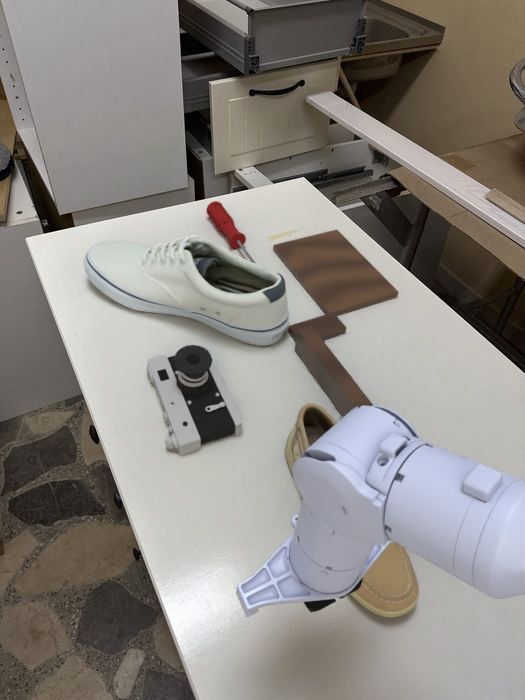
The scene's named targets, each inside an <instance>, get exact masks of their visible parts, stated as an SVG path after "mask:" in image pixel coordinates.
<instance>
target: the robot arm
mask: <svg viewBox="0 0 525 700" xmlns="http://www.w3.org/2000/svg"><path fill="white" fill-rule="evenodd" d="M336 422H337V423H336V424H335V425H334V426H333V427H332V428H331V429H329V430H328V431H327V432H326V433H325V434H324V435H323V436H321V437H320V438H319V439H318V440H317V441H316V442H315V443H314V444H312V445H311V446H310V447H309V448H308V449H307V450H306V451H304V452H303V454H302V455H301V458H299V459H298V460H296V461H295V463H294V465H293V475H292V477H293V481H294V484H295V486H296V489H297V490H298V492H299V494H300V496H301V497H302V499H301V503H300V506H299V511H298V513H296V514H294V515H293V516H292V517H291V520H290V524H291V527H292V530H293V532H292V533H291V534H290V535H289V537H287V538H286V539H285V540H284V541H283V543H282V544H281V545H280V546H279V547H278V548H277V549H276V550H275V551H273V553H272V554H271V555H270V556H269V557H268V558H267V559H266V560H265V561H264V563H262V564H261V566H259V568H258V569H257V570H256V571H255V572H254V573H252V574H251V575H250V576H249V577H247V578H246V579H244V580H242V581H240V582H239V583H237V584H236V592H235V594H236V597H237V599H238V602H239V604H240V605H241V608H242V611H243V613H244V615H245V617H246V618H250V617H251V616H253V615H255V614H257V613H258V612H259V610H260V608H263V607H269V606H277V605H286V604H296V603H303V604H304V606H305V607H306V609H307V610H308V611H309V612H310V613H316V612H319V611H321V610H323V609H325V608H327V607H329V606H330V605H333V604H334V603H336V602H337V600H336V599H340V600H342V599H343V598H345V597H347V596H349V595H350V594H351V593H353V592H355V591H357V590H358V589H359V588H360V586H361V584H362V580H363V578H362V577H363V576H364V575H365V574H366V572H367V571H368V570H369V569H370V567H371V566H372V565H373V564H374V562H375V561H376V560H377V559H378V557H379V556H380V555H381V553H382V552H383V551H384V550H385V548H386V547H387V546H388V545H389V544H390V543H393V542H396V543H397V544H399V545H401V546H403V547H404V548H405V550H408V551H409V552H411V553H413V554H415V555H416V556H419V557H420V558H422V559H423V560H425V561H427V562H428V563H431V564H432V565H434V566H435V567H437V568H439V569H440V570H442V571H444V572H445V573H447V574H450V575H451V576H453V577H454V578H456V579H458V580H459V581H461V582H463V583H465V584H466V585H468V586H470V587H472V588H473V589H474V590H475V589H476V590H477V591H479V592H481V593H482V594H484V595H485V596H487V597H489V598H491V599H494V600H504V599H510V598H511V599H512V598H515V597H519V596H524V595H525V480H523V479H520V478H518V477H516V476H513V475H510V474H508V473H506V472H503V471H501V470H498V469H496V468H493V467H491V466H488V465H486V464H484V463H481V462H478V461H475V460H474V459H472V458H469V457H465V456H464V455H461V454H458V453H456V452H453V451H452V450H448V449H446V448H443V447H441V446H439V445H436V444H435V443H431V442H430V441H429V442H428V441H426V440H423V439H421V438H420V435H419V433H418V432H417V430H416V429H415V428H414V427H413V425H412V424H411V423H410V422H409V421H408V420H407V419H406V418H405V417H403V416H402V415H401V414H400V413H398V412H397V411H395V410H393V409H391V408H389V407H387V406H382V405H377V404H376V405H374V406H361V407H360V408H358V407H355V408H354V409H352V410H351V411H350V412H349V413H348V414H346V415H345V416H344V417H342V418H340V419H339V420H338V421H336Z"/></svg>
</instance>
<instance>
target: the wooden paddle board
mask: <svg viewBox="0 0 525 700" xmlns="http://www.w3.org/2000/svg"><path fill="white" fill-rule="evenodd" d="M272 251H273V252H274V254H275V255H276V256H277V257H278V258H279V259H280V261H281V262H282V263H283V264H284V266H285V267H286V268H287V269H288V270H289V271H290V273H291V274H292V275H293V276H294V278H295V279H296V280H297V282H298V283H299V284H300V285H301V286H302V287H303V289H304V290H305V291H306V293H308V295H309V296H310V297H311V299H312V300H313V301H314V302H315V303H316V305H317V306H318V307H319V308H320V310H321V311H322V312H323V313H324V314H323V315H320V316H316V317H313V318H310V319H307V320H304V321H299V322H297V323H294V324H291V325H288V326H287V332H288V334H289V335H290V337H291V338H292V339H293V341H294V342H295V345H294V352H295V353H296V354H297V356H298V357H299V358H300V359H301V361H302V363H303V364H304V366H305V367H306V369H307V370H308V371H309V372H310V374H311V375H312V377H313V378H314V379H315V381H316V382H317V384H318V386H320V387H321V389H322V391H323V392H324V393H325V395H326V396H327V398H328V399H329V401H330V402H331V403H332V404H333V406H334V408H336V410H337V411H338V413H339V414H340V415H341V417H342V418H343V417H344V416H345V415H346V414H348V413H349V412H350V411H351V410H352V409H354V408H355V407H358V408H360V407H361V406H375V405H374V404H373V403H372V402H371V400H370V399H369V397H368V396H367V395H366V393H364V391H363V390H362V388H361V387H360V386H359V385H358V383H357V382H356V381H355V379H354V378H353V377H352V375H351V374H350V373H349V372H348V370H347V369H346V368H345V367H344V365H343V364H342V363H341V362H340V360H339V359H338V357H336V355H335V354H334V352H333V351H332V350H331V349H330V347H329V346H328V345H327V343H326V342H325V341H326V340H328V339H332V338H336V337H338V336H341V335H344V334H346V332H347V326H346V325H345V324H344V323H343V322H342V320H341V319H340V318H339V317H338V316H341V315H343V314H344V315H345V314H347V313H350V312H353V311H356V310H357V311H358V310H360V309H363V308H367V307H369V306H372V305H373V306H374V305H376V304H379V303H383V302H386V301H389V300H392V299H396V298H397V297H398V296H399V290H398V289H397V288H396V287H394V286H393V284H391V282H390V281H389V280H388V279H387V278H386V277H385V276H383V274H382V273H381V272H380V271H379V270H378V269H377V268H376V267H375V266H374V265H373V264H372V263H371V262H370V261H369V260H368V259H367V258H366V257H365V256H364V255H363V254H362V253H361V252H360V251H359V250H358V249H357V248H356V247H355V246H354V245H353V244H352V243H351V242H350V241H349V240H348V239H347V238H346V237H345V236H344V235H343V234H342V233H341V231H339V230H338V229H333V230H329V231H324V232H321V233H317V234H313V235H308V236H303V237H300V238H296V239H291V240H288V241H283V242H279V243H276V244H273V246H272Z"/></svg>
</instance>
